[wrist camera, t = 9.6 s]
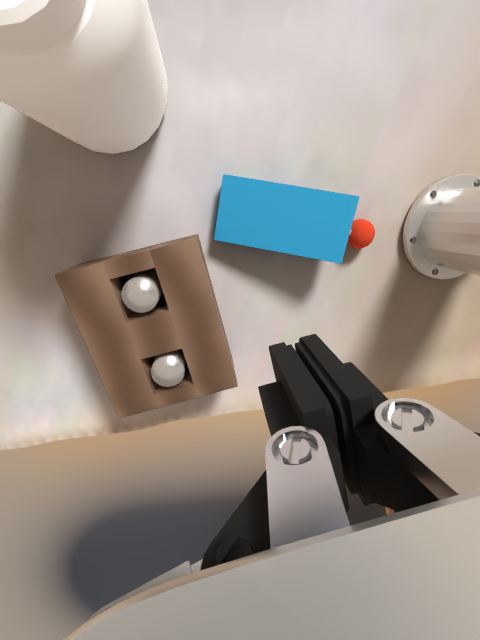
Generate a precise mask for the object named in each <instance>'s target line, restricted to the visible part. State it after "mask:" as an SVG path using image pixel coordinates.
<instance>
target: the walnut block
mask: <svg viewBox="0 0 480 640" xmlns="http://www.w3.org/2000/svg"><path fill="white" fill-rule="evenodd" d="M152 268H155V269H156V272H157V275H158V278H159V281H160V284H161V287H162V290H163V293H164V296H165V297H163V298H159V300H158V302H157V304H156V306H155V307H154V308H153V309H152V310H150V311H148V312H144V313H139V312H135V311H132V310H131V309H129V308H128V307H127V306H126V305H125V304H124V302H123V300H122V294H121V293H122V288H123V286H124V285H125V283H126V282H128V281H129V280H130V278H129V275H128V274H132V273H136V272H140V271H144V270H148V269H152ZM55 277H56V279H57V281H58V284H59V286H60V288H61V290H62V293H63V295H64V297H65V299H66V302H67V304H68V306H69V308H70V310H71V313H72V315H73V317H74V319H75V322H76V324H77V326H78V328H79V331H80V333H81V335H82V337H83V340H84V342H85V344H86V346H87V349H88V351H89V353H90V355H91V357H92V360H93V362H94V364H95V366H96V369H97V371H98V373H99V375H100V378H101V380H102V382H103V384H104V387H105V389H106V391H107V393H108V396H109V398H110V400H111V402H112V404H113V407H114V409H115V411H116V413H117V416H118V418H122V417H126V416H130V415H134V414H137V413H141V412H145V411H148V410H152V409H156V408H160V407H163V406H167V405H171V404H174V403H178V402H182V401H185V400H189V399H193V398H197V397H200V396H204V395H208V394H211V393H215V392H219V391H223V390H226V389H230V388H234V387H237V386H238V385H237V380H236V375H235V370H234V365H233V360H232V356H231V353H230V349H229V345H228V342H227V338H226V334H225V331H224V327H223V324H222V320H221V316H220V313H219V309H218V305H217V302H216V298H215V294H214V291H213V287H212V284H211V280H210V276H209V273H208V269H207V265H206V262H205V258H204V255H203V251H202V247H201V244H200V240H199V236H198V234H196V235H192V236H188V237H184V238H180V239H176V240H172V241H168V242H164V243H161V244H157V245H153V246H149V247H145V248H141V249H137V250H133V251H129V252H125V253H121V254H118V255H114V256H110V257H106V258H102V259H98V260H94V261H90V262H86V263H82V264H79V265H77V266H75V267H72V268H70V269H67V270H65V271H62V272H60V273H58V274H55ZM178 349H182V350H183V353H184V356H185V359H186V364H185V372H184V377H183V379H182V380H181V382H180V383H178V384H177V385H175V386H171V387H165V386H161V385H159V384H157V383H156V382H155V381H154V380H153V378H152V375H151V368H152V365H153V362H154V359H155V356H156V355H159V354H163V353H167V352H171V351H174V350H178Z"/></svg>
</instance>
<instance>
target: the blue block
mask: <svg viewBox="0 0 480 640" xmlns="http://www.w3.org/2000/svg"><path fill="white" fill-rule="evenodd" d="M358 200H359V196H353V195H347V194H341V193H335V192H329V191H323V190H317V189H310V188H304V187H298V186H292V185H286V184H280V183H274V182H268V181H261V180H255V179H249V178H243V177H237V176H231V175H225V174H224V175H223V179H222V186H221V194H220V201H219V208H218V215H217V222H216V229H215V236H214V240H217V241H223V242H228V243H234V244H239V245H244V246H250V247H255V248H260V249H266V250H271V251H276V252H282V253H287V254H292V255H298V256H303V257H308V258H314V259H319V260H324V261H330V262H335V263H342V260H343V257H344V253H345V249H346V245H347V244H348V245H349V246H351V247H353V248H364V247H366V246H368V245H369V244H370V243H371V242H372V240H373V238H374V235H375V230H374V227H373V225H372V224H371V223H370V222H369V221H367V220H364V219H358V220H355V221H353V219H354V215H355V211H356V207H357V204H358Z"/></svg>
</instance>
